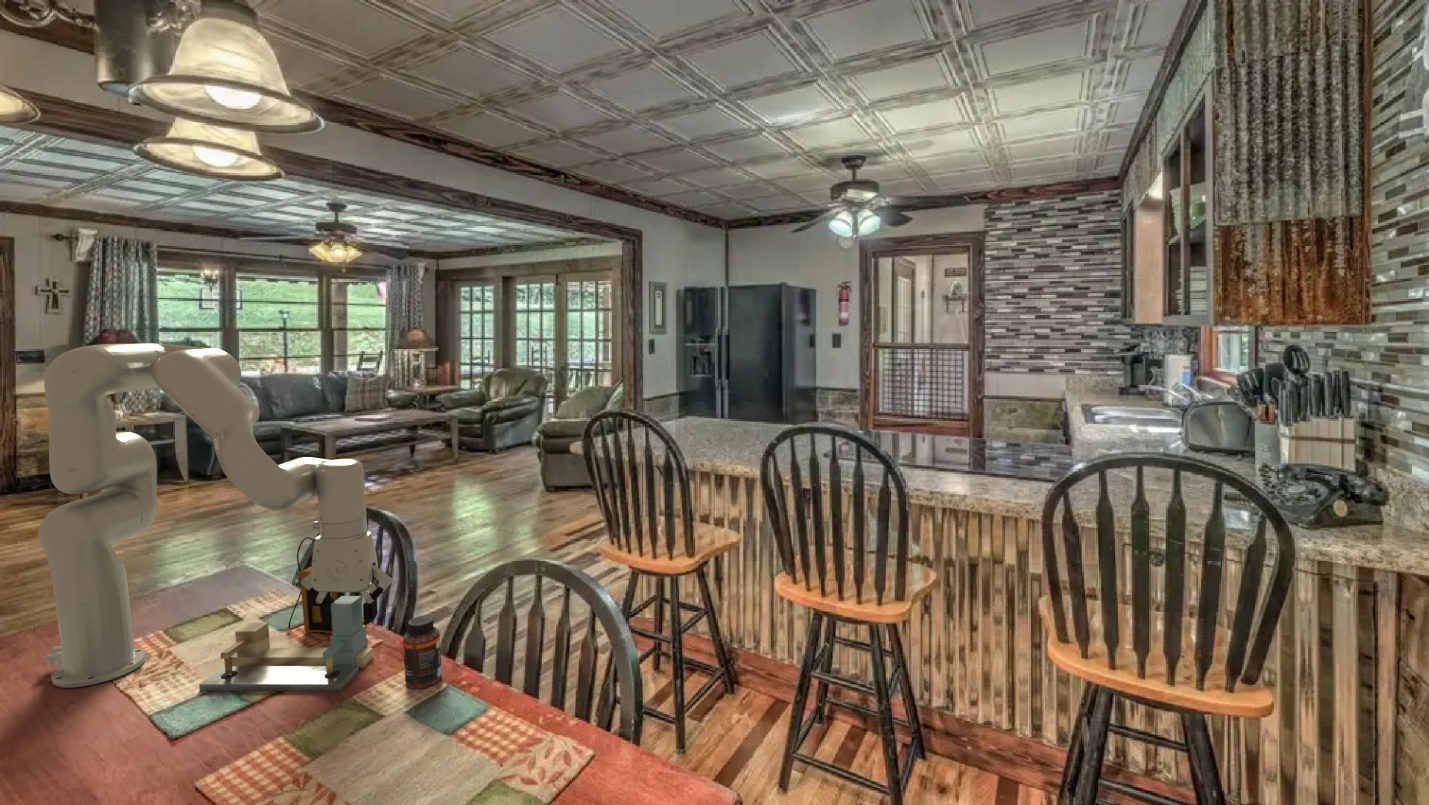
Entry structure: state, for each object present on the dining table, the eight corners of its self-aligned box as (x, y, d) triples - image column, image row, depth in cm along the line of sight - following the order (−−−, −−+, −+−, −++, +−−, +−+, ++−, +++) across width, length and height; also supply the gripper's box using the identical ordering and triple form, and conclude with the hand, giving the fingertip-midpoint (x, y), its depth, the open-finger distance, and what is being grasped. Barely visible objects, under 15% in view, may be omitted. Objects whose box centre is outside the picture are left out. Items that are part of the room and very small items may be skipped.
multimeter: (383, 614, 144) (378, 525, 141) (354, 636, 134) (348, 540, 131) (320, 611, 145) (314, 522, 143) (286, 632, 135) (279, 537, 133)
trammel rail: (209, 684, 116) (205, 646, 115) (245, 657, 125) (242, 622, 124) (347, 683, 116) (345, 645, 115) (373, 657, 125) (371, 622, 124)
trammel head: (316, 681, 116) (311, 617, 115) (347, 652, 126) (343, 594, 125) (339, 681, 116) (335, 617, 115) (368, 652, 126) (364, 594, 125)
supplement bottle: (449, 677, 118) (446, 616, 117) (422, 693, 113) (419, 630, 112) (425, 669, 121) (422, 610, 120) (397, 685, 116) (394, 623, 114)
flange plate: (199, 691, 114) (199, 683, 113) (224, 672, 120) (224, 665, 119) (340, 690, 114) (340, 683, 114) (358, 672, 120) (358, 665, 120)
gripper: (282, 534, 116) (289, 630, 118) (381, 534, 117) (387, 630, 119) (307, 521, 124) (314, 612, 126) (401, 521, 124) (406, 612, 126)
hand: (349, 620), depth 122 cm, fingers open, 7 cm apart
